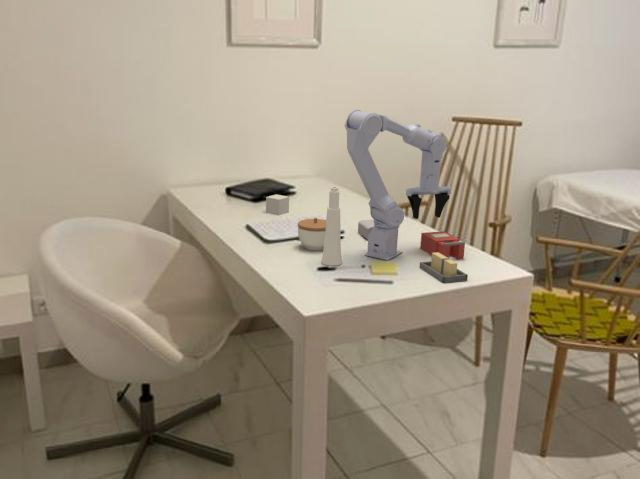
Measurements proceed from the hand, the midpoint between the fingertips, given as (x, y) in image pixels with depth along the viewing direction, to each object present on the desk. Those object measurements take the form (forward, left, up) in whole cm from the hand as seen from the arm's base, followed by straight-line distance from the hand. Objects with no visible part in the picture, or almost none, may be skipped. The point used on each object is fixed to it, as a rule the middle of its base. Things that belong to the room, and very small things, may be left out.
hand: (426, 217), depth 201 cm
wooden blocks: (-19, -14, -9) cm, 26 cm away
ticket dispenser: (-1, -7, -10) cm, 12 cm away
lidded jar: (-21, +27, -10) cm, 36 cm away
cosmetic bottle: (-30, +15, -10) cm, 35 cm away
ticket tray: (-19, -14, -10) cm, 26 cm away
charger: (+4, +21, -10) cm, 24 cm away
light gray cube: (+6, +62, -10) cm, 63 cm away
